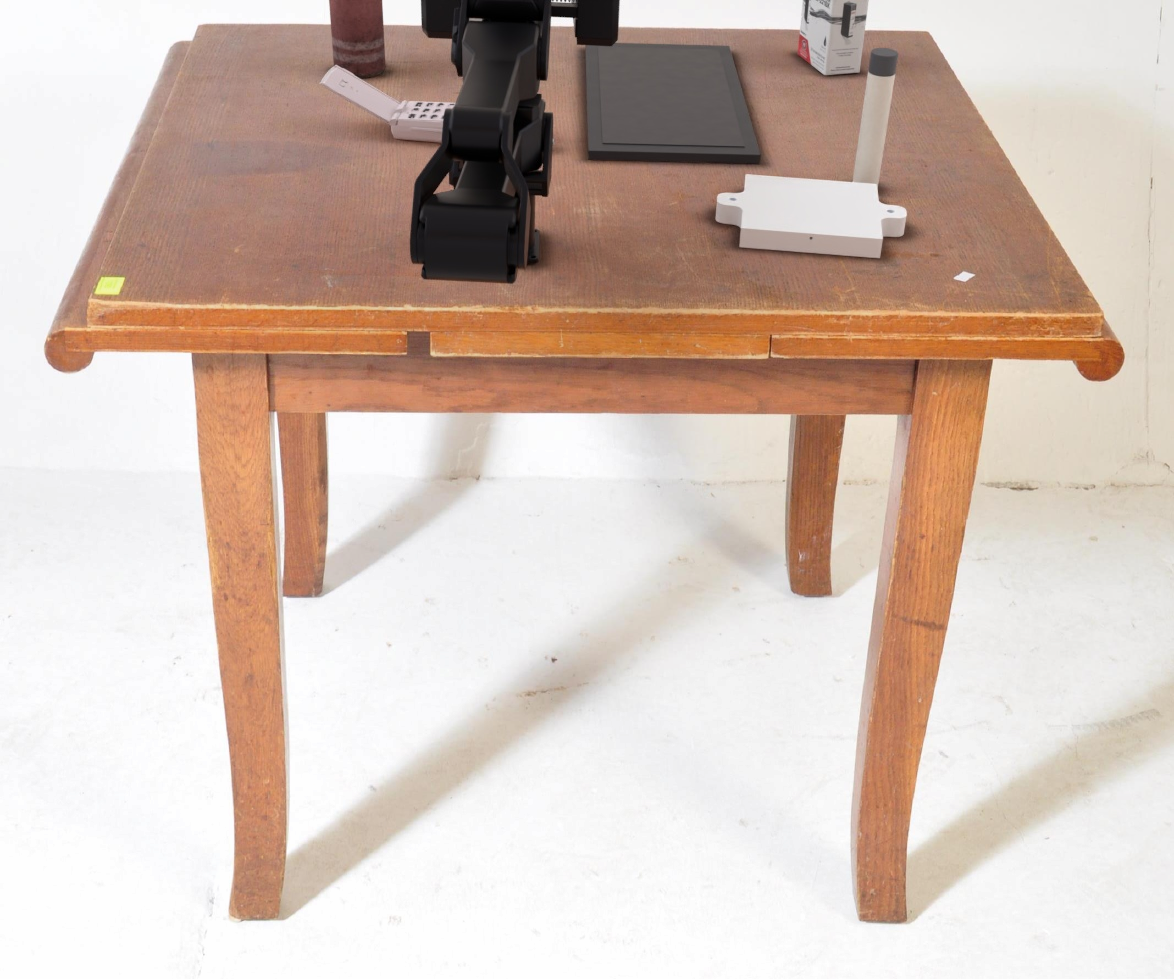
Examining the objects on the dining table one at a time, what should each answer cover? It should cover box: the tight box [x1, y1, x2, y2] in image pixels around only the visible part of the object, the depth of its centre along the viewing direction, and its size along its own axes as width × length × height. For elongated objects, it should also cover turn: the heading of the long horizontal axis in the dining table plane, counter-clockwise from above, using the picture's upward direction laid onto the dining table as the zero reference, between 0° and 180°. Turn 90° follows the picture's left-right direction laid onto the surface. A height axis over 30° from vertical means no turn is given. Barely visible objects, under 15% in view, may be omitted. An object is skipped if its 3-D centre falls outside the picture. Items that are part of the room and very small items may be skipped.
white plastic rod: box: [851, 47, 899, 189], centre depth 142 cm, size 3×3×14 cm
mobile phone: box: [318, 65, 556, 147], centre depth 153 cm, size 6×6×25 cm
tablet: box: [584, 42, 762, 165], centre depth 165 cm, size 36×18×1 cm, turn 1°
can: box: [328, 0, 387, 79], centre depth 167 cm, size 6×6×14 cm
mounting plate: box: [715, 173, 908, 259], centre depth 138 cm, size 18×13×2 cm
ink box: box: [797, 0, 870, 76], centre depth 174 cm, size 8×5×12 cm, turn 17°
